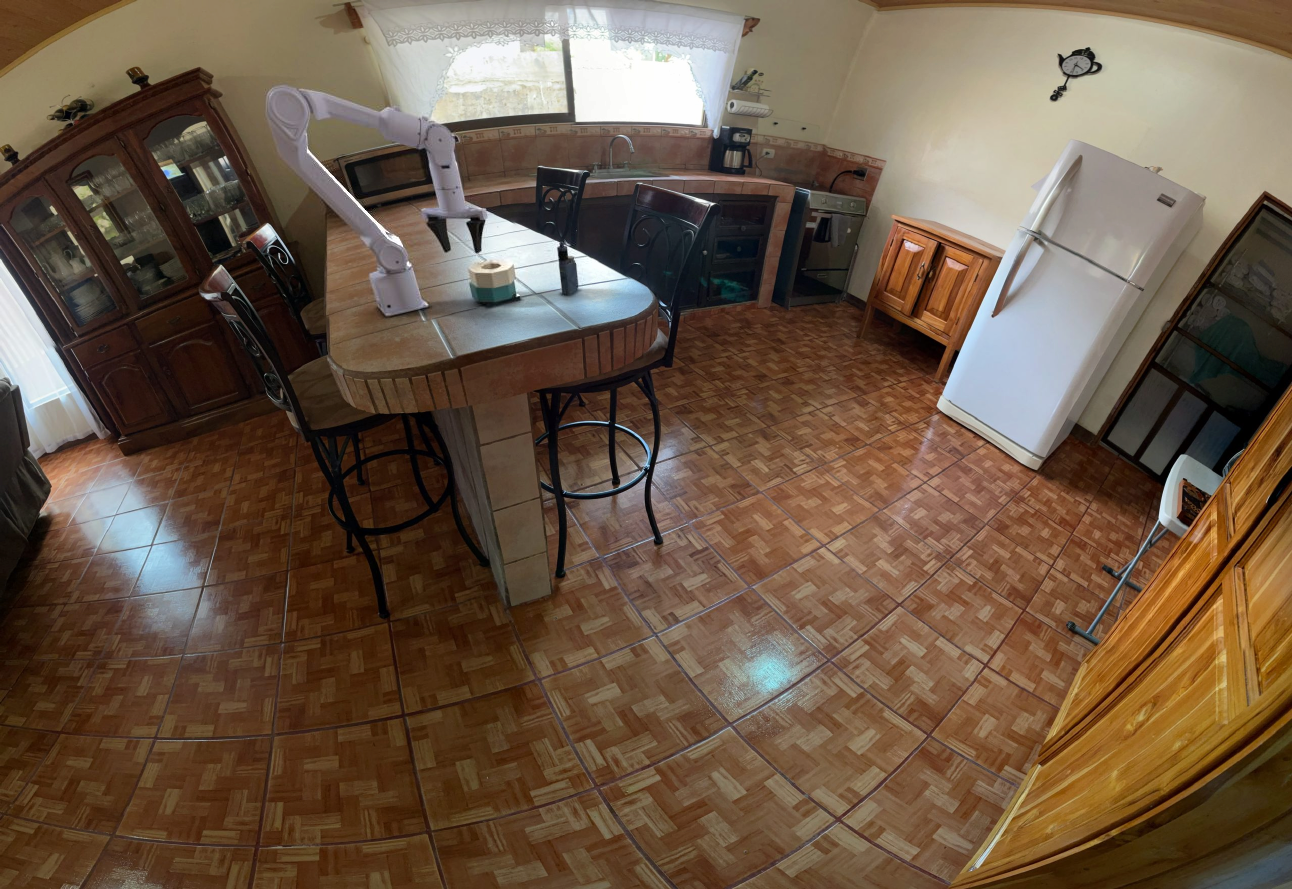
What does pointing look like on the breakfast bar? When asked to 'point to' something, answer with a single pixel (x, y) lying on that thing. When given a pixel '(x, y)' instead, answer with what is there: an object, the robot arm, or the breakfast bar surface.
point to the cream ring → (492, 273)
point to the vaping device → (567, 271)
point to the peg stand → (503, 301)
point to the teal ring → (492, 293)
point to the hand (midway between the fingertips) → (463, 251)
